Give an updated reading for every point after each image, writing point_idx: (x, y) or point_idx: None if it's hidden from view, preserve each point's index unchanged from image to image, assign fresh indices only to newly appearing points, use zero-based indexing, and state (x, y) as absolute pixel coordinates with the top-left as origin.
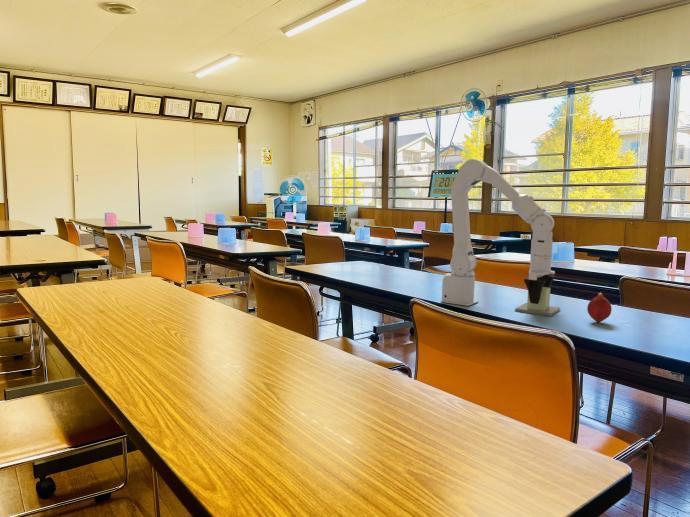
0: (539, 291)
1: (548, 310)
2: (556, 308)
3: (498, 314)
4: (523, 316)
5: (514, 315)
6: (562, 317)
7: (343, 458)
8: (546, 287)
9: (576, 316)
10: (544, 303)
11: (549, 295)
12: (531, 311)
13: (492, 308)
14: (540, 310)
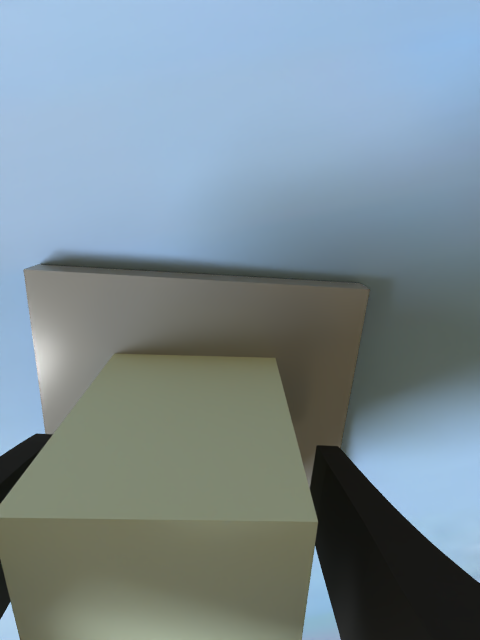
0: (453, 567)
1: (243, 334)
2: (97, 291)
3: (473, 569)
4: (462, 446)
5: (457, 496)
6: (345, 182)
7: None
8: (25, 566)
9: (216, 58)
10: (281, 399)
11: (86, 427)
12: (340, 436)
13: (312, 630)
14: (288, 388)
